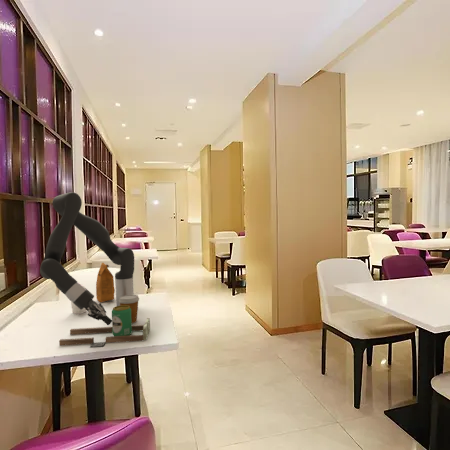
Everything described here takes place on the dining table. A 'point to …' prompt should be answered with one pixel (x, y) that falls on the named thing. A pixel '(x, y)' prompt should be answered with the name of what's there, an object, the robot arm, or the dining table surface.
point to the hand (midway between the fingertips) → (110, 323)
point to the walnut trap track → (108, 339)
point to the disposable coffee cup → (130, 304)
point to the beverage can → (121, 321)
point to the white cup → (77, 309)
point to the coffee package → (104, 284)
